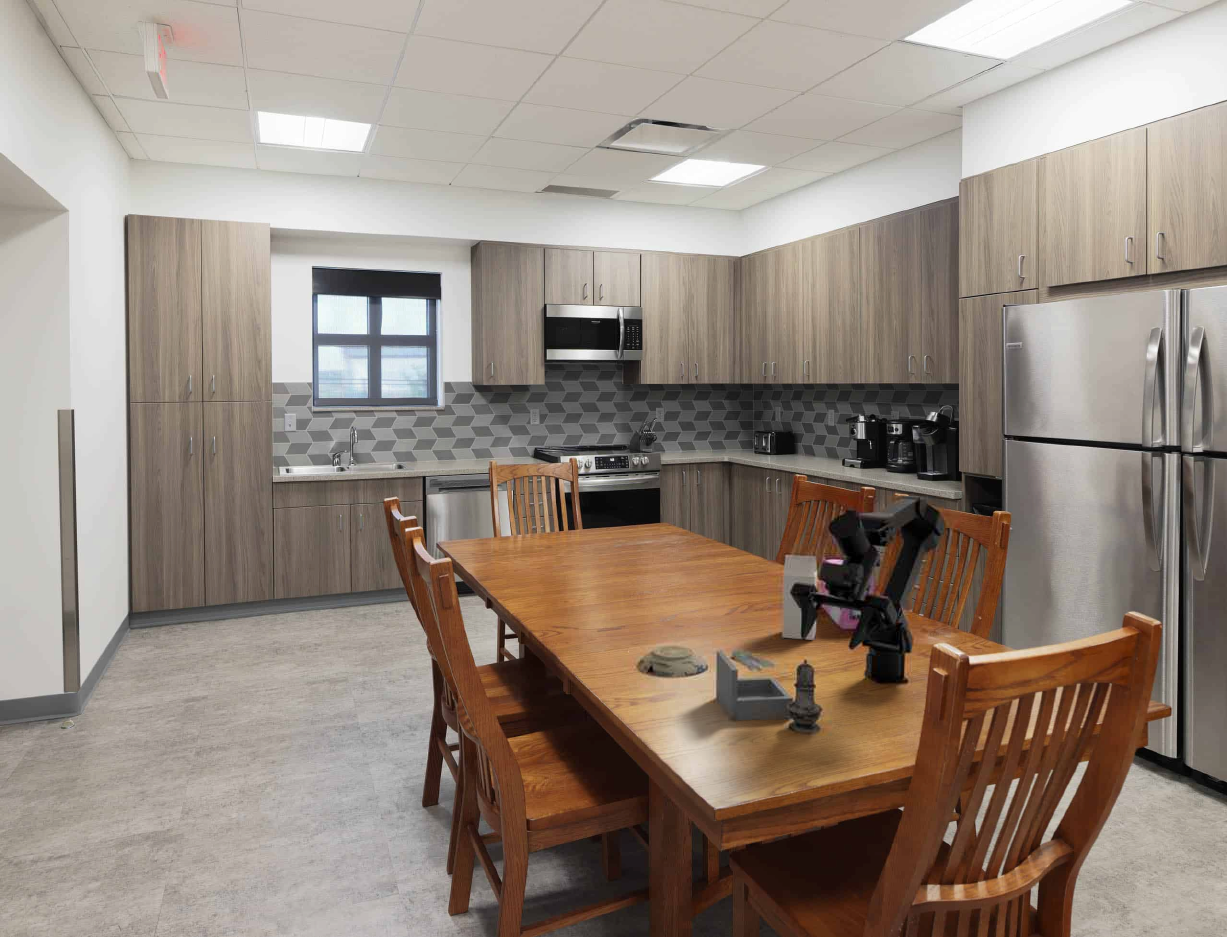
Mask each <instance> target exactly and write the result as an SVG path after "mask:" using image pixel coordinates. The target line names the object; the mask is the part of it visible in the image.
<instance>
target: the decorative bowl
mask: <svg viewBox="0 0 1227 937" xmlns="http://www.w3.org/2000/svg"><path fill="white" fill-rule="evenodd" d="M637 664H638V666H637V668H638V667H639V668H638V670H640V671H641V670H642V672H644V673H645V672H647V673H648V671H649V670H650V668H652V670H653V675H654V676H656V677H662V678H688V677H695V676H698V675H701V674H703V673H705V672H707V670H709V664H708V663H707V662H706V660H705V659H704V658H703V657H702V656H701V655H700V654H698V653H697V652H695V651H693V650H692V649H691V648H689V647H685V646H682V645H661V646H657V647H655V648H653V649H652V651H649V653H646V654H645V655H644V656H643V657H642V658H640V659H639V661H638V662H637Z"/></svg>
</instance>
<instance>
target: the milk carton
mask: <svg viewBox="0 0 1227 937" xmlns="http://www.w3.org/2000/svg"><path fill="white" fill-rule="evenodd" d="M784 556H785V559H784V565H783V566H784V567H783V576H782V578H783V579H782V581H783V582H782V625H781V626H782V632H781V634H782V635H781V636H782V638H785V639H786V638H787V639H797V640H803V639H802V637H801V609H800V608H799V607H798V605H797V604H796V602H795V600H794V599H793V597H792V595H791V594H790V590H791V588H792V586H793V585H794V584H795V583H797V582H802V583H808V584H814V585H815V587H816V588H817V589H818V566H817V557H816V556H808V555H806V556H805V555H789V554H786V555H784ZM816 632H817V620H816V621H815V623H814V625H813V627H812V628H811V630H810V632H809V634H808V635H807V637H806V638H805V639H804V640H808V641H810V640H811V641H813V640H814V639H815V636H816Z"/></svg>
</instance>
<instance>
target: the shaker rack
mask: <svg viewBox="0 0 1227 937" xmlns="http://www.w3.org/2000/svg"><path fill="white" fill-rule="evenodd" d="M715 669H716V670H715V671H716V674H715V675H716V676H715V677H716V680H715V682H716V683H715V684H716V685H715V689H716V690H715V694H716V695H715V698H716V700H717V701H718V703H719V704H720V706H721V707H722V709H723V710H724V711H725V714H727V716H728V718H729V719H730V720H731V721H745V720H746V721H748V720H749V721H750V720H769V719H770V720H771V719H789V718H790V719H792V718H791V716H790V714H789V709H788V708H787V705H788V704H789V703H791V702H794V698H793V696H792V695H791V694H790V693H789V692H788V691H787V690H786V689H785V688H784V687H783V686H782V685H781V684H780V683H779V682H778V681H777V679H775V677H773V676H772V677H771V676H769V677H750V678H749V677H747V678H745V677H744V678H739V677H738V674H739V670H738V668H737V667H736V666H735V665H734V664H733V662H732V661H731V660H730V659H729V658H728V657H727V655H726V654H725V653H724V652H723V650H716V668H715Z"/></svg>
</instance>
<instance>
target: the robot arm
mask: <svg viewBox="0 0 1227 937" xmlns="http://www.w3.org/2000/svg"><path fill="white" fill-rule="evenodd" d="M927 502H928V501H926V499H925V498H923V497H921V496H912V495H902V496H898V497H897V500H896V501H894V502H892V503H890V504H889V505H888V506H886V507H884V508H882V509H880V510H879V511H877V512H863V513H859V512H858V510H857V509H856V510H855V509H846V511H845V513H843V514H840V515H837V516H836V517H835V518H833V520H831V521H830V522H829V525H828V531H829V534H830V536H831V537H832V540H833V541H834V543H835V545H836V547H837V549H838V551H839V552H840V553H841V554H842V555H844V556H843V557H844V560H843V562H842V564H841V565H840V564H833V563H826V562H822V561H821V567H820V571H819V575H818V577H817V580H819V581H821V582H822V581H824V582H825V588H826V590H829V594H823V593H822V592H819V590H818V587H817V588H816V587H815V585H814V584H808V583H802V582H797V583H795V584H794V585H793V586H792V588H791V590H790V594H791V595H792V597H793V599H794V600H795V602H796V604H797V605H798V607H799V608H800V609H801V637H802V639H801V640H806V639H805V638H806V637H807V635H808V634H809V632H810V630H811V628H812V627H813V625H814V623H815V621H816V622H817V619H818V617H819V611H820V610H821V608H822V604H824V605H829V606H835V607H840V608H845V609H850V610H855V611H861V614H860V619H859V622H858V624H857V626H856V628H855V629H853V630H854V631H853V633H852V635H851V638H850V640H849V643H848V648H849V650H850V651H851V650H854V649H856V648H857V647H858V646H859V645H861V646H862V647H868V653H866V656H865V657H866V658H865V659H866V660H865V670H864V674H866V676H868V677H869V678H870V679H871V680H873V681H874V682H875V683H878V684H890V683H891V684H892V683H908V682H909V678H907V677H906V676H905V672H906V671H905V665H906V664H905V663H906V661H905V659H906V654H908V653H909V654H912V649H913V646H914V637H913V635H912V633H911V630H910V629H909V627H908V626H909V623H908V622H909V621H908V618H907V616H906V612H905V610H906V606H907V604H908V601H909V598H910V596H911V593H912V590H913V589H914V585H915V582H916V580H917V577H918V575H919V572H920V569H921V567H922V563H923V561H924V558H925V556H926V554H927V553H929V552H931V551H932V550H934V549H935V548H936V547H937V546H939V543H940V541H941V539H942V538H943V536H945V534H946V530H947V527H946V526H947V524H946V520H945V518H944V516H943V515H942V513H941V511H939V510H938V509H936V508H935V507H933V506H932V505H930V504H928V503H927ZM898 530H899V531H900V534H901V537H902V540H903V541H902V545H901V548H900V551H899V553H898V556H897V558H896V560H895V563H894V565H893V569H892V571H891V573H890V576H889V578H888V581H887V584H886V585H885V589H884V591H883V593H882V595H879V594H874V593H873V594H869V595H867V597H866V601H863V600H862V598H863V596H864V593H865V591H869V590H870V588H871V586H870V584H869V581H870V579H871V576H872V574H873V573H874V571H875V569H876V567H881V563H882V562H881V559H880V554H879V551H878V549H877V548H876V547H880V548H889V546H890V545H891V544H892V543H894V541H895V540H896V537H897V531H898ZM873 575H874V574H873Z"/></svg>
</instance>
